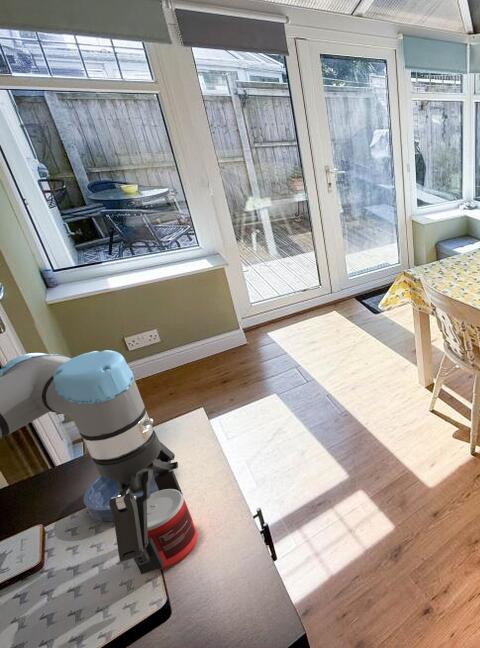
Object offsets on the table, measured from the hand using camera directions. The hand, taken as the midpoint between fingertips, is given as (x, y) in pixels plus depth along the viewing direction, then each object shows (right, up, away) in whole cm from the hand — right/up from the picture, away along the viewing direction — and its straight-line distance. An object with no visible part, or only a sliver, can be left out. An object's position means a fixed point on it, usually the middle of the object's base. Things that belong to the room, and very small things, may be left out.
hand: (164, 531), depth 73 cm
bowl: (-16, +1, +12) cm, 20 cm away
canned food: (0, -5, +2) cm, 5 cm away
